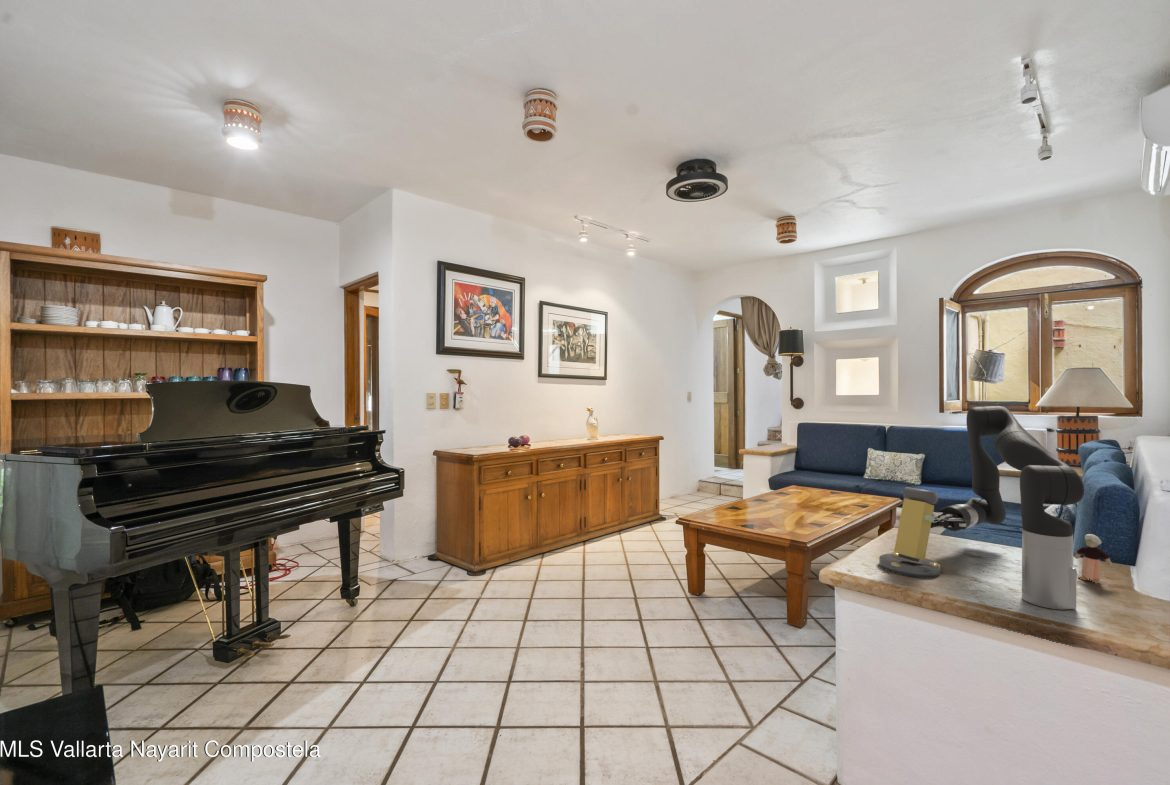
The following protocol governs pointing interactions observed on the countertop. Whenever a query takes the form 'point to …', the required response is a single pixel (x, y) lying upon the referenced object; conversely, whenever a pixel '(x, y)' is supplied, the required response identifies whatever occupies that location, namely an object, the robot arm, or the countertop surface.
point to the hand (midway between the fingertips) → (927, 524)
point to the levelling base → (909, 566)
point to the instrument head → (915, 523)
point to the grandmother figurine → (1092, 558)
